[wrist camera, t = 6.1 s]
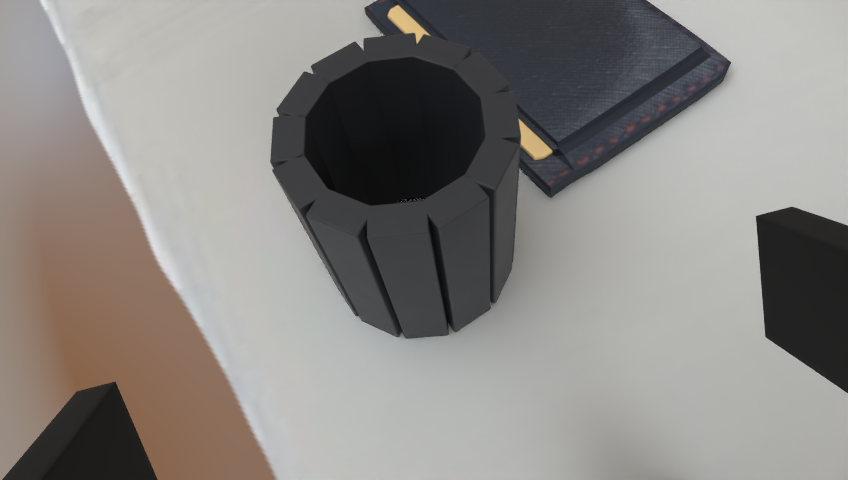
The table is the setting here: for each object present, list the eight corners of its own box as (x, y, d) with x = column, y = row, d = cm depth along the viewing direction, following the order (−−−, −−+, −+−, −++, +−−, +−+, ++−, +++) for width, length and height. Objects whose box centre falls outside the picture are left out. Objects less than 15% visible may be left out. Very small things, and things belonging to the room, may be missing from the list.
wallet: (747, 55, 37) (544, 188, 34) (736, 77, 39) (541, 205, 36) (533, -106, 46) (357, -10, 43) (532, -82, 48) (362, 12, 45)
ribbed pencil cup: (385, 156, 39) (348, 10, 29) (538, 212, 36) (556, 72, 26) (301, 293, 35) (223, 181, 25) (464, 368, 32) (451, 276, 22)
